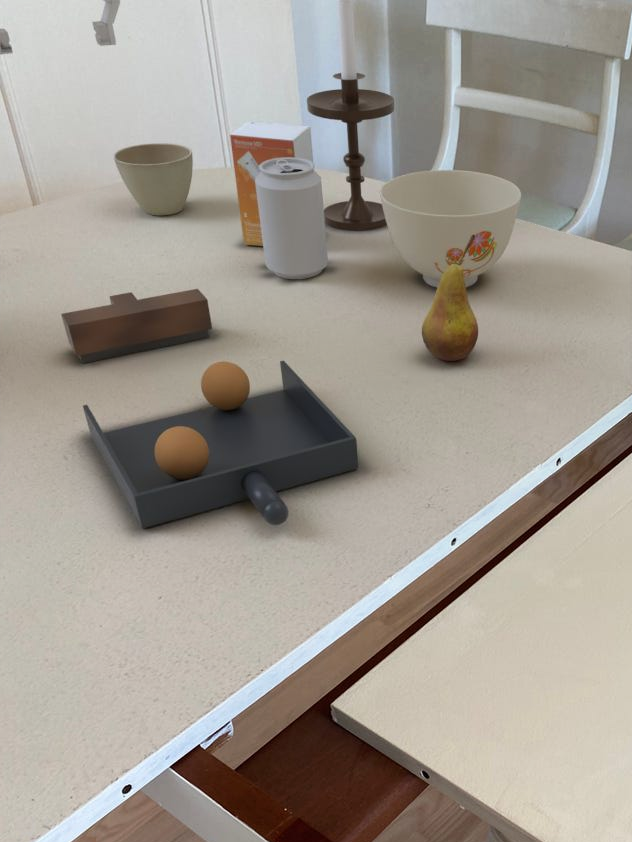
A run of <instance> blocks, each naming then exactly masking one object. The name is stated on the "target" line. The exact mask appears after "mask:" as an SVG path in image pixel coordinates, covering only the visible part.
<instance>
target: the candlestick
mask: <svg viewBox="0 0 632 842" xmlns="http://www.w3.org/2000/svg"><path fill="white" fill-rule="evenodd" d="M336 13H337V24H338V25H337V27H338V44H339V57H340V72H339V73H334V74H333V75H332V77H333V79H336V80H340V87H341V88H338V89H328V90H322V91H319V92H315V93H313V94H311V95H309V96H308V97H306V106H307V107H306V108H307V111H308V113H309V114H311V115H312V116H315V117H317V118H318V117H319V118H321V119H327V120H335V121H340V122H342V123H344V124H346V134H347V150H348V151H347V153H346V154H344V155H343V159H342V161H343V163H344V165H345V167H347V168H348V175H347V176H346V177H345V181H346V182H347V183H348V184H350V185H349V186H350V197H349V199H348V200H345V201H340V202H336V203H332V204H330V205H328V206H327V207H324V220H325V225H328V226H329V227H332V228H335V229H338V230H343V231H355V232H357V231H359V232H360V231H369V230H376V229H379V228H382V227H385V226H387V223H386V219H385V215H384V211H383V207H382V203H381V202H377V201H371V200H365V199H364V198H363V196H362V183H364V182H365V176H364V175H362V170H361V168H362V167H363V166H364V164H365V161H366V157H365V155H363V154H362V153H361V152H360V149H359V148H360V147H359V131H358V124H359V123H361V122H363V121H366V120H367V121H368V120H375V119H380V118H383V117H386V116H389V115H391V114H392V113H394V111H395V99H394V96H392V95H390V94H389V93H385V92H383V91H382V92H381V91H378V90H373V89H364V88H363V89H362V88H359V80H362V79H365V78H366V75H365V74H363V73H360V72H357V58H356V57H357V56H356V39H355V22H354V21H355V19H354V4H353V0H336Z"/></svg>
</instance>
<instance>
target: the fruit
mask: <svg viewBox="0 0 632 842" xmlns="http://www.w3.org/2000/svg"><path fill="white" fill-rule="evenodd" d="M474 238H475V235H472V236H471V238H470V240H469V242H468V244H467V246H466V248H465V250H464V253H463V254H462V256H461V258H460V259H459V261H458V263H457V264H451V266H449V267H448V268H447V269H446V270H445V272H444V273H443V275H442V277H441V280H440V282H439V285H438V288H436V291H435V295H434V298H433V302H432V304H431V307H430V309H429V311H428V313H427V314H426V316H425V318H424V320H423V323H422V326H421V337H422V341H423V343H424V345H425V348H426V349H427V350H428V351H429V353H431V355H432V356H433V357H435V358H437V359H439V360H442V361H445V362H446V361H447V362H454V361H455V362H456V361H460V360H462V359H464V358H467V357H468V356H469V355H470V354H471V353H472V352H473V350H474V349H475V346H476V344H477V342H478V337H479V324H478V321H477V318H476V315H475V313H474V311H473V309H472V306H471V305H470V302H469V299H468V293H467V287H466V285H465V279H464V275H463V268H462V267H461V265H460V264H461V261H462V260H463V258H464V256H465V254H466V252H467V250H468V248H469V246H470V245H471V243H472V242H473V240H474Z"/></svg>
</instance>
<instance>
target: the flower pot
mask: <svg viewBox="0 0 632 842" xmlns="http://www.w3.org/2000/svg"><path fill="white" fill-rule="evenodd" d="M113 160H114V163H115V166H116V168H117V170H118V173H119V175H120V177H121V179H122V182H123V184H124V186H126V188H127V190H128V191H129V193H130V195H131V196H132V197H133V199H134V200H135V202H136V203H137V204H138V205H139V207H140V208H141V209H142V210H143V211H144V213H146V214H148V215H151V216H170V215H175V214H177V213H180V212H181V211H183V209H184V207H185V205H186V202H187V199H188V196H189V194H190V193H189V192H190V189H191V184H192V178H193V166H194V164H193V163H194V162H193V150H192V148H190V147H188V146H186V145H183V144H177V143H168V142H167V143H166V142H155V143H154V142H152V143H142V144H135V145H130V146H127V147H123V148H121V149H119V150H116V152H114V153H113Z"/></svg>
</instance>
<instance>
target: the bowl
mask: <svg viewBox="0 0 632 842" xmlns="http://www.w3.org/2000/svg"><path fill="white" fill-rule="evenodd" d="M379 198H380V204H382V207H383V211H384V215H385V219H386V223H387V225H386V227H387V229H388V233H389V236H390V239H391V243H392V244H393V246H394V248H395V250H396V251H397V253H398V255H399V256H400V258H401V259H402V260H403V261H404V262H405V263H406V264H407V265H408V266H409V267H410V268H412V269H413V270H414V271H416V272H418V273H419V274H421V275H422V279H423V281H424V282H425V283H426V284H427V285H429V286H430V287H433V288H436V289H437V288H438V285H439V282H440V280H441V277H442V275H443V273H444V272H445V270H446V269H447V268H448V267H449V266H451V264H457V263H458V261H459V259H460V258H461V256H462V254H463V253H464V250H465V248H466V246H467V244H468V242H469V240H470V238H471V236H472V235H475V238H474V240H473V242H472V243H471V245H470V246H469V248H468V250H467V252H466V254H465V256H464V258H463V260H462V261H461V264H460V265H461V267H462V268H463V275H464V279H465V285H466V288H470V287H471V286H473V285H474V284H475V283H476V282H477V281H478V278H479V277H478V276H479V275H482V274H483V273H485V272H486V271H487V270H490V268H491V267H492V266H494V265H495V264H496V263H497V262H498V261H499V260H500V258H501V257H502V255H503V254H504V252H505V251H506V249H507V247H508V245H509V243H510V239H511V236H512V235H513V230H514V227H515V223H516V219H517V216H518V212H519V208H520V205H521V199H522V191H521V190H520V188H519V187H518V186H517V185H515V183H513V182H511V181H509V180H507V179H505V178H502V177H499V176H496V175H492V174H489V173H484V172H478V171H472V170H461V169H460V170H459V169H458V170H457V169H434V170H424V171H415V172H411V173H407V174H403V175H399V176H396V177H394V178H391V179H390V180H388V181H386V182H385V183H384V184H383V185H382V186H381V187H380V189H379Z"/></svg>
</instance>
